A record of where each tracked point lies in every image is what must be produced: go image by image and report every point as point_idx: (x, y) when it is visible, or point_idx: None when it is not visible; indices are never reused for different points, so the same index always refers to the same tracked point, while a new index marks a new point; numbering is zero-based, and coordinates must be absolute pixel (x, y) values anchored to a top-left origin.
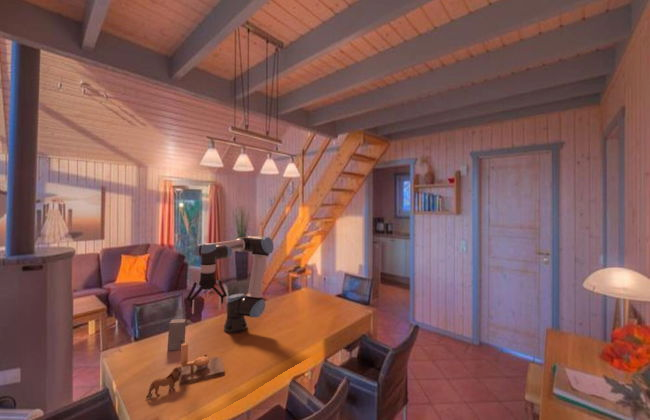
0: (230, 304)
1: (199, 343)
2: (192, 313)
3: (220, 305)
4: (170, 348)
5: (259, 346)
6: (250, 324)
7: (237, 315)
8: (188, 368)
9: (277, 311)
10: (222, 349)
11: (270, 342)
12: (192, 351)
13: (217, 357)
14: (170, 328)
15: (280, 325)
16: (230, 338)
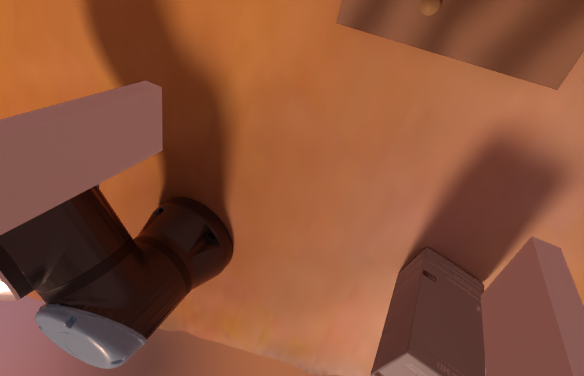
0: (132, 314)
1: (346, 237)
2: (555, 248)
3: (88, 100)
4: (473, 282)
5: (154, 16)
6: (144, 221)
7: (147, 249)
8: (547, 3)
9: None
10: (292, 114)
11: (108, 18)
12: (403, 197)
13: (352, 22)
14: (477, 371)
15: None
16: (232, 180)
